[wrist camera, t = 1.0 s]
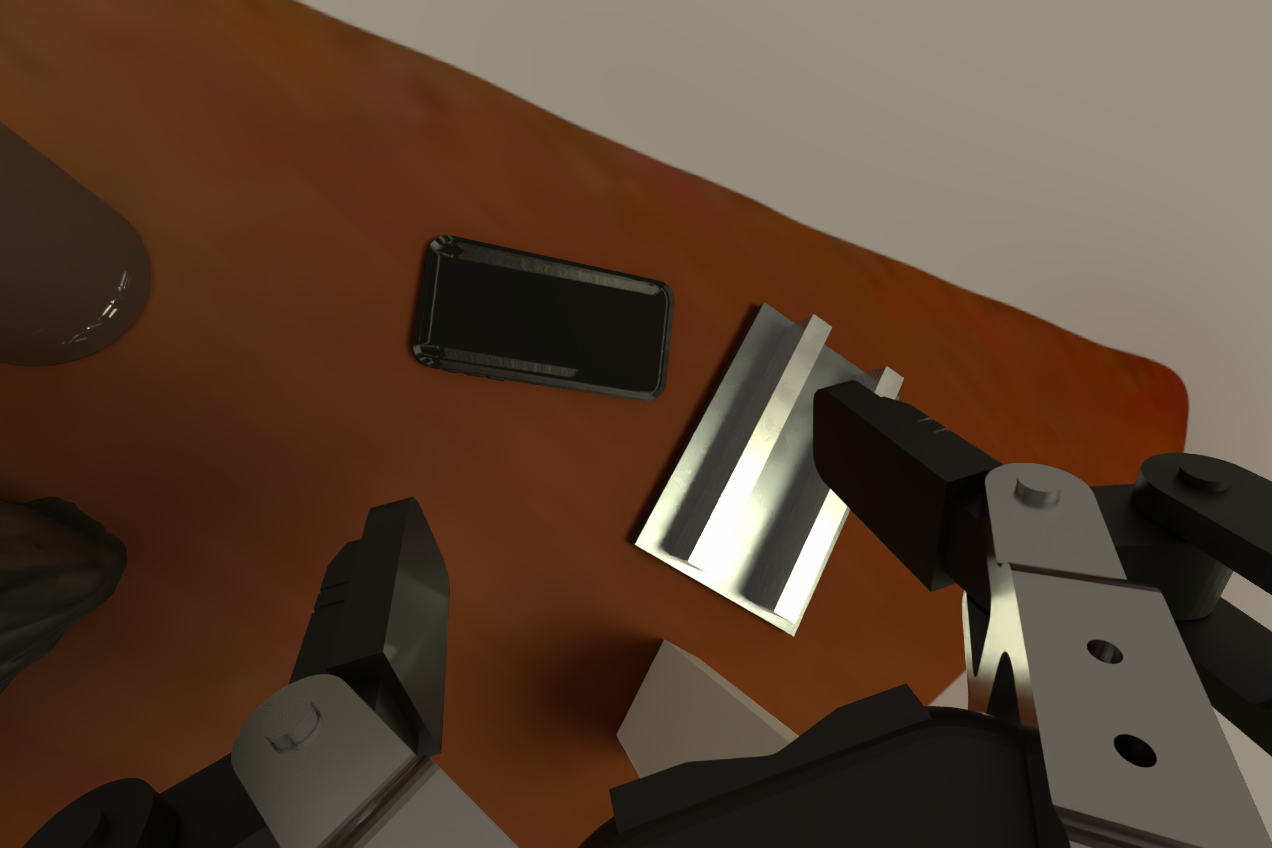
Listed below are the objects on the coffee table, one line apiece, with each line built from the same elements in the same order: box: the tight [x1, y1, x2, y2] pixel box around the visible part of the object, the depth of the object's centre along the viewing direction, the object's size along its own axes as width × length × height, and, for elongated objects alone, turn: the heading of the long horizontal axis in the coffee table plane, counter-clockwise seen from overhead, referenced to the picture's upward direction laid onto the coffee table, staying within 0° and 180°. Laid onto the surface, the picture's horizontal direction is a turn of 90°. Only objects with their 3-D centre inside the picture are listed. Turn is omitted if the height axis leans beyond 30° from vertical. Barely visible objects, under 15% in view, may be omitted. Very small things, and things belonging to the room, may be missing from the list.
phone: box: [413, 235, 674, 401], centre depth 34 cm, size 8×1×15 cm
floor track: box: [631, 302, 904, 636], centre depth 36 cm, size 12×18×4 cm, turn 150°
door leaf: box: [616, 639, 799, 778], centre depth 26 cm, size 3×6×16 cm, turn 150°
